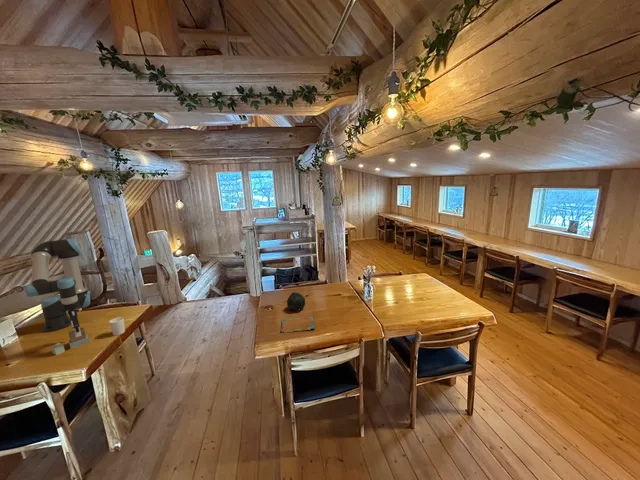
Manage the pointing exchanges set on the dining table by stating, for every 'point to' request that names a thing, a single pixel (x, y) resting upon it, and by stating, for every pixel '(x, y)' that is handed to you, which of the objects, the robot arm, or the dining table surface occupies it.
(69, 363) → the dining table surface
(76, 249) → the robot arm
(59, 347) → the sage block
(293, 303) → the squash
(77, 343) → the grey slab
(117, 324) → the white cup
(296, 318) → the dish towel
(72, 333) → the walnut block
